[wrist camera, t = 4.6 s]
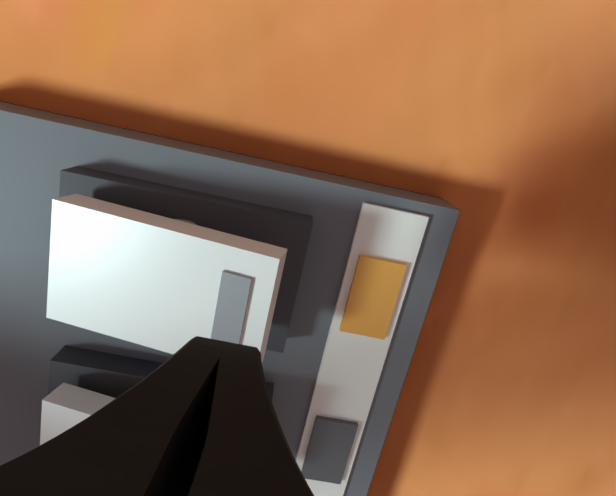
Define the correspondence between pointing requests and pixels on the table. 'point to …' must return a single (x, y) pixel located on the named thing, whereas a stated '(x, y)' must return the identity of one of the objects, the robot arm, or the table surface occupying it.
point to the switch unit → (241, 222)
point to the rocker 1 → (68, 409)
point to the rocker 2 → (158, 277)
